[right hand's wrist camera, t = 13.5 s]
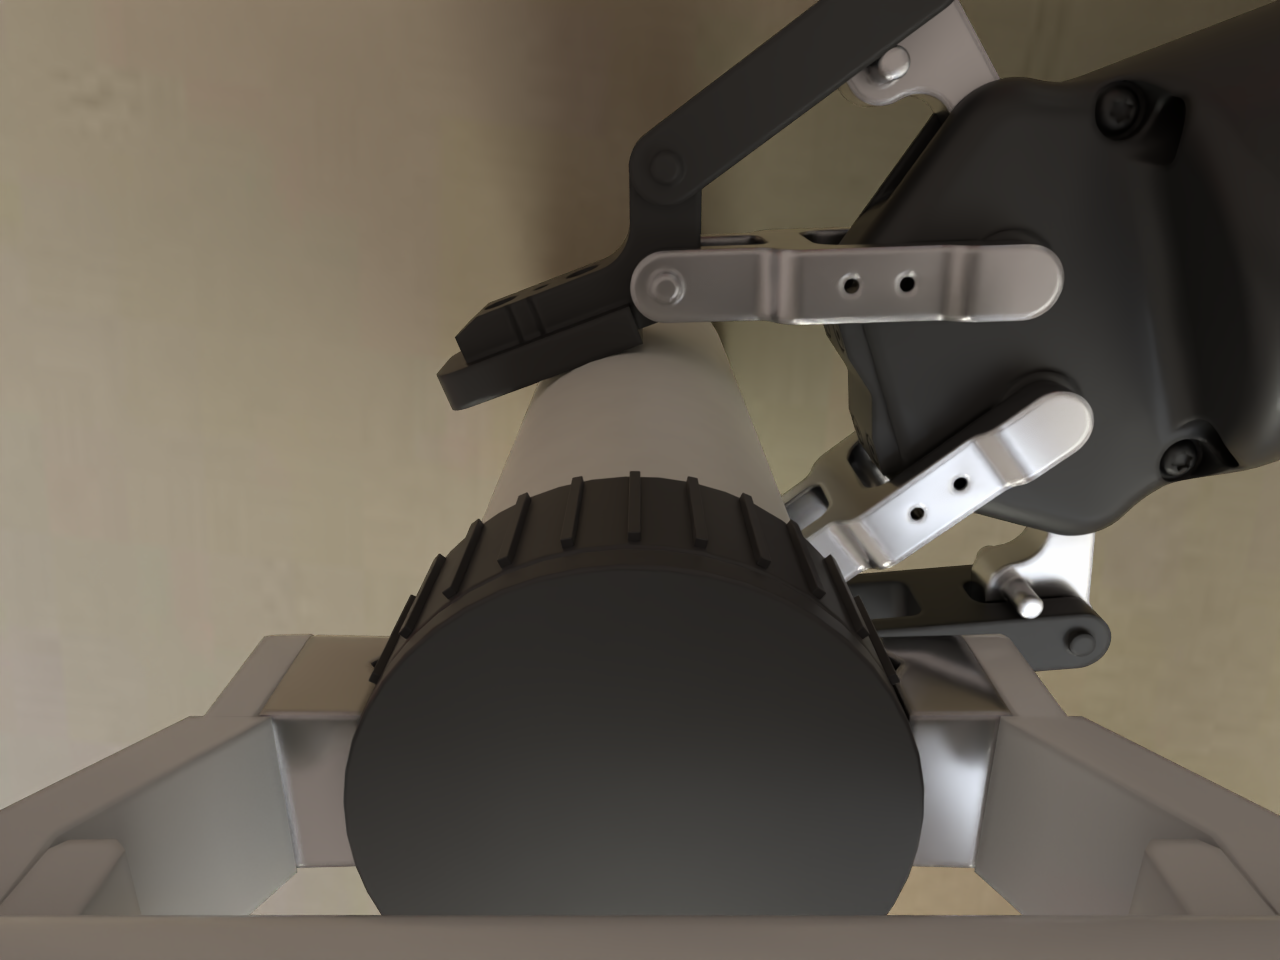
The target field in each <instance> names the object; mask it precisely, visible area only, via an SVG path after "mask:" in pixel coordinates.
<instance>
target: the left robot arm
mask: <svg viewBox="0 0 1280 960" xmlns="http://www.w3.org/2000/svg"><path fill="white" fill-rule="evenodd" d="M836 89H839V91H840V92H841V94H842V95H843V97H844V98H845V99H846V100H848V101H849V102H851V103H852V104H854V105H857V106H861V107H875V106H883V105H889V104H892V103H894V102H896V101H898V100H900V99H902V98H904V97H906V96H912V97H916V98H918V99H921V100H922V101H924V102H925V103H926V104H927V105H928V106H929V107H930V108H931V109H932V111H933V112H934V113H933V114H932V116H931V117H930V119H929V120H928V121H927V123H926V124H925V126H924V127H923V128H922V130H921V131H920V132H919V134H918V135H917V137H916V138H915V139H914V141H913V142H912V144H911V145H910V146H909V148H908V149H907V150H906V152H905V153H904V155H903V156H902V157H901V159H900V160H899V161H898V163H897V164H896V166H895V167H894V168H893V170H892V171H891V173H890V174H889V175H888V177H887V178H886V179H885V181H884V182H883V184H882V185H881V186H880V188H879V189H878V191H877V192H876V193H875V195H874V196H873V197H872V199H871V200H870V202H869V203H868V204H867V206H866V207H865V208H864V210H863V211H862V213H861V214H860V215H859V217H858V218H857V220H856V221H855V222H854V224H853V225H852V226H851V227H823V228H793V229H768V230H759V231H754V232H748V233H726V234H701V190H702V188H704V187H705V186H707V185H708V184H709V183H711V182H712V181H713V180H715V179H716V178H717V177H719V176H720V175H721V174H723V173H724V172H725V171H727V170H728V169H730V168H731V167H732V166H734V165H735V164H736V163H738V162H739V161H740V160H742V159H743V158H744V157H746V156H747V155H748V154H750V153H751V152H752V151H754V150H755V149H757V148H758V147H759V146H761V145H762V144H763V143H765V142H766V141H767V140H769V139H770V138H771V137H773V136H774V135H775V134H777V133H778V132H780V131H781V130H782V129H784V128H785V127H786V126H788V125H789V124H790V123H792V122H793V121H794V120H796V119H797V118H798V117H800V116H801V115H803V114H804V113H805V112H807V111H808V110H809V109H811V108H812V107H813V106H815V105H816V104H817V103H819V102H820V101H821V100H823V99H824V98H826V97H827V96H828V95H830V94H831V93H832V92H834V91H835V90H836ZM629 185H630V228H629V232H628V235H627V237H626V239H625V241H624V243H623V244H622V245H621V247H620V248H619V249H618V250H617V251H616V252H615V253H613V254H612V255H610V256H609V257H607V258H605V259H603V260H600V261H597V262H595V263H592V264H590V265H587V266H584V267H582V268H579V269H577V270H574V271H571V272H569V273H566V274H563V275H561V276H558V277H556V278H553V279H550V280H548V281H545V282H543V283H540V284H538V285H535V286H532V287H529V288H527V289H524V290H522V291H519V292H517V293H514V294H511V295H508V296H506V297H503V298H501V299H498V300H495V301H493V302H490V303H488V304H487V305H486V306H485V307H484V308H483V309H482V310H481V311H480V312H479V313H478V314H477V315H476V316H475V317H474V318H473V319H472V320H471V321H470V322H469V323H468V324H467V325H466V326H465V327H464V328H463V329H462V330H461V331H460V332H459V334H458V335H457V336H456V337H455V339H456V341H457V343H458V345H459V347H460V350H461V351H460V352H459V353H457V354H455V355H454V356H452V357H451V358H450V359H449V360H448V361H447V363H446V364H445V365H444V366H443V367H442V368H441V370H440V371H439V372H438V373H437V377H438V379H439V381H440V383H441V386H442V388H443V390H444V392H445V394H446V396H447V399H448V401H449V403H450V405H451V407H452V409H453V410H462V409H466V408H469V407H472V406H475V405H478V404H480V403H483V402H486V401H488V400H491V399H494V398H497V397H499V396H502V395H505V394H508V393H510V392H513V391H516V390H518V389H521V388H524V387H527V386H529V385H532V384H535V383H537V382H540V381H543V380H546V379H548V378H551V377H554V376H557V375H559V374H562V373H565V372H567V371H570V370H573V369H576V368H578V367H581V366H583V365H585V364H588V363H590V362H593V361H596V360H599V359H603V358H606V357H608V356H611V355H614V354H616V353H619V352H622V351H625V350H627V349H630V348H633V347H635V346H638V345H641V344H643V328H644V327H647V326H650V325H652V324H655V323H658V322H659V323H687V322H717V321H748V320H764V321H771V322H775V323H780V324H791V325H807V324H823V325H824V328H825V331H826V335H827V336H828V338H829V340H830V341H831V343H832V344H833V346H834V347H835V349H836V350H837V352H838V354H839V355H840V357H841V358H842V360H843V361H844V363H845V364H846V366H847V369H848V391H849V410H850V414H851V417H852V420H853V424H854V427H855V430H856V431H855V432H853V433H852V434H851V435H849V436H848V437H846V438H845V439H844V440H842V441H841V442H840V443H838V444H837V445H835V446H834V447H833V448H831V449H830V450H829V451H827V452H826V453H825V454H823V455H822V456H821V457H820V458H819V459H818V460H817V461H816V462H815V463H814V465H813V467H812V469H811V471H810V473H809V474H808V476H807V477H806V478H805V479H804V480H802V481H801V482H800V483H798V484H797V485H796V486H794V487H793V488H791V489H790V490H789V491H787V492H786V493H784V494H783V495H782V496H781V498H782V500H783V503H784V505H785V508H786V510H787V513H788V516H789V518H790V520H791V519H792V520H793V521H795V522H796V523H797V524H798V525H799V527H800V529H801V532H802V534H803V537H804V538H805V539H807V540H808V541H809V542H810V543H811V544H812V545H813V546H814V547H815V548H816V550H817V551H818V552H819V553H820V554H821V555H822V556H823V557H824V558H826V557H827V556H828V555H830V554H831V555H832V556H833V557H834V559H835V560H836V561H837V563H838V566H839V568H840V570H841V572H842V574H843V577H844V579H845V581H846V583H847V585H848V587H849V590H850V592H851V594H852V596H853V597H856V596H858V595H859V596H860V598H861V600H862V602H863V604H864V606H865V608H866V610H867V612H868V614H869V617H870V619H871V621H872V623H873V625H874V627H875V629H876V631H877V633H878V635H879V637H900V636H941V635H981V634H1002V635H1004V636H1007V637H1009V638H1010V640H1011V641H1012V642H1013V644H1014V645H1015V646H1016V648H1017V649H1018V650H1019V652H1020V653H1021V654H1022V656H1023V657H1024V658H1025V660H1026V661H1027V662H1028V664H1029V665H1030V666H1031V668H1032V669H1033V671H1047V670H1060V669H1073V668H1082V667H1085V666H1088V665H1091V664H1093V663H1094V662H1096V661H1098V660H1099V659H1100V658H1101V657H1102V656H1103V655H1104V654H1105V653H1106V651H1107V650H1108V648H1109V645H1110V642H1111V632H1110V629H1109V627H1108V625H1107V624H1106V623H1105V621H1104V620H1103V619H1102V618H1101V617H1100V616H1099V615H1098V614H1097V613H1096V612H1095V611H1094V610H1093V608H1092V606H1091V605H1090V602H1089V595H1090V585H1091V574H1092V563H1093V552H1094V541H1095V532H1097V531H1100V530H1102V529H1104V528H1106V527H1108V526H1110V525H1112V524H1113V523H1115V522H1116V521H1118V520H1119V519H1120V518H1121V517H1122V516H1123V515H1125V514H1126V513H1127V512H1128V511H1129V510H1130V509H1131V508H1132V507H1133V506H1134V505H1136V504H1137V503H1138V502H1139V501H1141V500H1142V499H1143V498H1145V497H1146V496H1148V495H1149V494H1151V493H1152V492H1154V491H1156V490H1158V489H1159V488H1161V487H1163V486H1165V485H1167V484H1170V483H1173V482H1177V481H1181V480H1187V479H1192V478H1199V477H1205V476H1212V475H1219V474H1226V473H1233V472H1239V471H1244V470H1248V469H1252V468H1256V467H1260V466H1263V465H1266V464H1269V463H1272V462H1275V461H1278V460H1280V0H1278V1H1276V2H1273V3H1270V4H1268V5H1265V6H1263V7H1260V8H1257V9H1255V10H1252V11H1250V12H1247V13H1244V14H1242V15H1239V16H1236V17H1234V18H1231V19H1229V20H1226V21H1223V22H1221V23H1218V24H1216V25H1213V26H1210V27H1208V28H1205V29H1203V30H1200V31H1197V32H1195V33H1192V34H1190V35H1187V36H1184V37H1182V38H1179V39H1176V40H1174V41H1171V42H1169V43H1166V44H1163V45H1161V46H1158V47H1156V48H1153V49H1150V50H1148V51H1145V52H1143V53H1140V54H1137V55H1135V56H1132V57H1130V58H1127V59H1124V60H1122V61H1119V62H1117V63H1114V64H1111V65H1109V66H1106V67H1103V68H1101V69H1098V70H1096V71H1093V72H1090V73H1088V74H1085V75H1083V76H1080V77H1077V78H1074V79H1070V80H1067V81H1063V82H1047V81H1041V80H1036V79H1031V78H1025V77H1010V78H1003V79H1000V78H999V76H998V74H997V72H996V70H995V68H994V66H993V64H992V62H991V61H990V59H989V57H988V55H987V53H986V51H985V49H984V47H983V45H982V44H981V42H980V40H979V38H978V36H977V34H976V32H975V30H974V28H973V27H972V25H971V23H970V21H969V19H968V17H967V15H966V13H965V11H964V10H963V8H962V6H961V4H960V2H959V0H819V1H818V2H817V3H815V4H814V5H813V6H812V7H810V8H809V9H808V10H806V11H805V12H804V13H802V14H801V15H800V16H798V17H797V18H796V19H795V20H793V21H792V22H791V23H789V24H788V25H787V26H785V27H784V28H783V29H781V30H780V31H779V32H778V33H776V34H775V35H774V36H772V37H771V38H770V39H768V40H767V41H766V42H765V43H763V44H762V45H761V46H759V47H758V48H757V49H755V50H754V51H753V52H751V53H750V54H749V55H748V56H746V57H745V58H744V59H742V60H741V61H740V62H738V63H737V64H736V65H735V66H733V67H732V68H731V69H729V70H728V71H727V72H725V73H724V74H723V75H721V76H720V77H719V78H718V79H716V80H715V81H714V82H712V83H711V84H710V85H708V86H707V87H706V88H705V89H703V90H702V91H701V92H699V93H698V94H697V95H695V96H694V97H693V98H691V99H690V100H689V101H688V102H686V103H685V104H684V105H682V106H681V107H680V108H678V109H677V110H676V111H675V112H673V113H672V114H671V115H669V116H668V117H667V118H665V119H664V120H663V121H661V122H660V123H659V124H658V125H656V126H655V127H654V128H652V129H651V130H650V131H648V132H647V133H646V134H645V135H643V136H642V137H641V138H640V139H639V140H638V142H637V143H636V145H635V146H634V148H633V151H632V153H631V156H630V161H629ZM971 513H977V514H981V515H985V516H988V517H992V518H996V519H1000V520H1004V521H1007V522H1011V523H1015V524H1019V525H1023V526H1026V528H1025V530H1024V531H1023V532H1022V533H1021V534H1020V535H1019V536H1018V537H1017V538H1015V539H1014V540H1012V541H1010V542H1008V543H1005V544H1001V545H996V546H985V547H983V548H981V549H980V550H979V551H978V553H977V556H976V560H975V562H974V563H973V565H962V566H950V567H938V568H926V569H914V570H902V571H889V572H877V573H865V574H859V573H860V572H862V571H864V570H866V569H871V568H872V569H879V570H881V569H886V568H889V567H892V566H894V565H896V564H897V563H899V562H901V561H902V560H904V559H905V558H907V557H908V556H909V555H911V554H912V553H914V552H915V551H917V550H918V549H920V548H921V547H923V546H924V545H926V544H927V543H929V542H930V541H932V540H933V539H935V538H936V537H938V536H939V535H940V534H942V533H943V532H945V531H946V530H948V529H949V528H951V527H952V526H954V525H955V524H957V523H958V522H960V521H961V520H963V519H964V518H966V517H967V516H969V515H970V514H971Z"/></svg>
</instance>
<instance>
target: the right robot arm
mask: <svg viewBox="0 0 1280 960" xmlns="http://www.w3.org/2000/svg"><path fill="white" fill-rule="evenodd" d="M389 637H390V636H355V635H315V636H314V635H313V634H286V635H270V636H265V637H264V638H263V639H262V640H261V641H260V642H259V644H258V645H257V646H256V648H255V649H254V650H253V652H252V653H251V654H250V656H249V657H248V658H247V660H246V661H245V662H244V663H243V665H242V666H241V667H240V669H239V670H238V671H237V673H236V674H235V675H234V677H233V678H232V679H231V681H230V682H229V683H228V685H227V686H226V687H225V689H224V690H223V691H222V693H221V694H220V695H219V697H218V698H217V699H216V701H215V702H214V703H213V704H212V706H211V707H210V708H209V710H208V711H207V712H206V714H205V715H204V716H189V717H187V718H185V719H183V720H181V721H179V722H177V723H175V724H173V725H171V726H169V727H167V728H165V729H163V730H161V731H159V732H157V733H155V734H153V735H151V736H149V737H147V738H145V739H143V740H141V741H139V742H137V743H135V744H133V745H131V746H129V747H127V748H125V749H123V750H121V751H119V752H117V753H115V754H113V755H111V756H108V757H106V758H104V759H102V760H100V761H98V762H96V763H94V764H92V765H90V766H88V767H86V768H84V769H82V770H80V771H78V772H76V773H74V774H72V775H70V776H68V777H66V778H64V779H62V780H60V781H58V782H56V783H54V784H52V785H50V786H48V787H46V788H44V789H42V790H40V791H38V792H36V793H34V794H32V795H30V796H28V797H26V798H24V799H22V800H20V801H18V802H16V803H14V804H12V805H10V806H8V807H6V808H4V809H2V810H0V960H1280V816H1279V815H1277V814H1275V813H1273V812H1271V811H1269V810H1267V809H1265V808H1263V807H1261V806H1259V805H1257V804H1255V803H1253V802H1251V801H1249V800H1247V799H1245V798H1243V797H1241V796H1239V795H1237V794H1235V793H1233V792H1231V791H1229V790H1227V789H1225V788H1223V787H1221V786H1219V785H1217V784H1216V783H1214V782H1212V781H1210V780H1208V779H1206V778H1204V777H1202V776H1200V775H1198V774H1196V773H1194V772H1192V771H1190V770H1188V769H1186V768H1184V767H1182V766H1180V765H1178V764H1176V763H1174V762H1172V761H1170V760H1168V759H1166V758H1164V757H1162V756H1160V755H1158V754H1156V753H1154V752H1152V751H1150V750H1148V749H1146V748H1144V747H1142V746H1140V745H1138V744H1136V743H1134V742H1132V741H1130V740H1128V739H1126V738H1124V737H1122V736H1120V735H1118V734H1116V733H1114V732H1112V731H1110V730H1108V729H1106V728H1104V727H1102V726H1100V725H1098V724H1096V723H1094V722H1092V721H1090V720H1088V719H1086V718H1084V717H1082V716H1067V715H1066V713H1065V712H1064V711H1063V709H1062V708H1061V707H1060V705H1059V704H1058V703H1057V701H1056V700H1055V699H1054V697H1053V696H1052V695H1051V693H1050V692H1049V691H1048V689H1047V688H1046V687H1045V685H1044V684H1043V683H1042V681H1041V680H1040V679H1039V677H1038V676H1037V675H1036V673H1035V672H1034V671H1033V669H1032V668H1031V666H1030V665H1029V664H1028V662H1027V661H1026V660H1025V658H1024V657H1023V656H1022V654H1021V653H1020V652H1019V650H1018V649H1017V648H1016V646H1015V645H1014V644H1013V642H1012V641H1011V640H1010V638H1009V637H1007V636H1004V635H1002V634H981V635H941V636H900V637H879V638H880V640H881V642H882V644H883V646H884V648H885V650H886V652H887V654H888V657H889V659H890V661H891V663H892V665H893V667H894V669H895V671H896V673H897V675H898V678H899V680H900V682H899V683H896V684H894V685H892V686H893V688H894V690H895V693H896V695H897V697H898V700H899V702H900V704H901V706H902V708H903V710H904V712H905V714H906V717H907V719H908V721H909V723H910V726H911V729H912V732H913V735H914V738H915V742H916V745H917V748H918V751H919V754H920V760H921V767H922V773H923V780H924V818H923V824H922V830H921V835H920V841H919V847H918V850H917V853H916V856H915V859H914V862H913V865H912V866H925V867H961V868H975V871H974V872H976V873H977V874H978V875H979V876H980V877H981V878H982V879H983V880H984V881H986V882H987V883H988V884H989V885H990V886H991V887H992V888H993V889H994V890H996V891H997V892H998V893H999V894H1000V895H1001V896H1002V897H1003V898H1004V899H1005V900H1007V901H1008V902H1009V903H1010V904H1011V905H1012V906H1013V907H1014V908H1015V909H1017V910H1018V911H1019V912H1020V913H1021V914H1022V915H250V914H251V913H252V912H253V911H254V910H255V909H256V908H258V907H259V906H260V905H261V904H262V903H263V902H264V901H265V900H267V899H268V898H269V897H270V896H271V895H272V894H273V893H274V892H276V891H277V890H278V889H279V888H280V887H281V886H282V885H283V884H284V883H286V882H287V881H288V880H289V879H290V878H291V877H292V876H293V875H295V874H296V873H297V868H310V867H345V866H355V863H354V859H353V856H352V852H351V848H350V844H349V841H348V837H347V833H346V823H345V814H344V804H343V796H344V780H345V768H346V764H347V760H348V755H349V751H350V746H351V742H352V738H353V736H354V733H355V731H356V729H357V726H358V724H359V721H360V719H361V716H362V714H363V711H364V709H365V707H366V705H367V703H368V701H369V698H370V696H371V694H372V692H373V690H374V689H375V686H376V684H374V683H371V682H369V681H368V680H369V678H370V676H371V674H372V672H373V670H374V668H375V666H376V664H377V662H378V660H379V658H380V656H381V653H382V651H383V649H384V647H385V645H386V643H387V641H388V639H389Z"/></svg>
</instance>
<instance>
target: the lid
mask: <svg viewBox="0 0 1280 960" xmlns="http://www.w3.org/2000/svg"><path fill="white" fill-rule="evenodd" d="M368 681H369V682H371V683H374V684H376V686H375V689H374V690H373V692H372V694H371V696H370V698H369V701H368V703H367V705H366V707H365V709H364V711H363V714H362V716H361V719H360V721H359V724H358V726H357V729H356V731H355V733H354V736H353V738H352V742H351V746H350V751H349V755H348V760H347V764H346V768H345V780H344V796H343V804H344V814H345V823H346V833H347V837H348V841H349V844H350V848H351V852H352V856H353V859H354V863H355V866H356V868H357V870H358V872H359V875H360V877H361V879H362V881H363V884H364V886H365V888H366V890H367V892H368V894H369V896H370V897H371V899H372V900H373V902H374V904H375V905H376V907H377V908H378V910H379V912H380V913H381V915H887V914H888V912H889V911H890V909H891V908H892V907H893V905H894V904H895V902H896V900H897V898H898V896H899V894H900V892H901V890H902V888H903V886H904V884H905V883H906V881H907V879H908V877H909V874H910V871H911V868H912V865H913V862H914V859H915V856H916V853H917V850H918V847H919V841H920V835H921V830H922V824H923V818H924V780H923V773H922V767H921V760H920V754H919V751H918V748H917V745H916V742H915V738H914V735H913V732H912V729H911V726H910V723H909V721H908V719H907V717H906V714H905V712H904V710H903V708H902V706H901V704H900V702H899V700H898V697H897V695H896V693H895V690H894V688H893V686H892V685H894V684H896V683H899V682H900V680H899V678H898V675H897V673H896V671H895V669H894V667H893V665H892V663H891V661H890V659H889V657H888V654H887V652H886V650H885V648H884V646H883V644H882V642H881V640H880V638H879V635H878V633H877V631H876V629H875V627H874V625H873V623H872V621H871V619H870V617H869V614H868V612H867V610H866V608H865V606H864V604H863V602H862V600H861V598H860V596H859V595H858V596H856V597H853V596H852V594H851V592H850V590H849V587H848V585H847V583H846V581H845V579H844V577H843V574H842V572H841V570H840V568H839V566H838V563H837V561H836V560H835V559H834V557H833V556H832V555H831V554H830V555H828V556H827V557H826V558H824V557H823V556H822V555H821V554H820V553H819V552H818V551H817V550H816V548H815V547H814V546H813V545H812V544H811V543H810V542H809V541H808V540H807V539H805V538H804V537H803V534H802V532H801V529H800V527H799V525H798V524H797V523H796V522H795V521H793V520H792V519H791V520H790V521H789V522H788V523H787V524H786V523H785V522H784V521H782V520H781V519H779V518H777V517H776V516H774V515H772V514H771V513H769V512H767V511H766V510H764V509H762V508H760V507H759V506H757V505H755V504H754V503H753V499H752V496H750V495H748V494H745V493H742V494H741V496H740V498H739V497H737V496H734V495H732V494H730V493H727V492H725V491H721V490H718V489H714V488H711V487H707V486H703V485H700V484H699V482H698V478H695V477H690V476H688V477H687V481H680V480H673V479H667V478H660V477H640V471H630V477H627V476H625V477H615V478H604V479H593V480H588V481H584V480H583V477H582V476H579V477H574V478H572V482H571V484H570V485H565V486H561V487H557V488H555V489H552V490H549V491H546V492H543V493H541V494H538V495H535V496H532V497H530V496H529V494H528V493H527V492H526V493H524V494H522V495H519V496H518V499H517V502H516V504H515V505H513V506H511V507H509V508H507V509H505V510H503V511H501V512H500V513H498V514H497V515H495V516H494V517H492V518H491V519H489V520H488V521H486V522H485V523H484V524H483V523H482V521H481V520H480V519H478V520H476V521H475V522H473V523H472V524H471V526H470V529H469V531H468V533H467V536H466V538H465V539H464V540H462V541H461V542H460V543H459V544H458V545H457V546H456V547H455V548H454V549H453V550H452V551H451V552H450V553H449V554H448V555H447V556H446V558H445V557H444V556H442V555H441V554H438V556H437V557H436V558H435V559H434V561H433V563H432V565H431V567H430V569H429V571H428V573H427V575H426V577H425V579H424V581H423V584H422V586H421V588H420V590H419V592H418V594H417V596H414V595H410V597H409V599H408V601H407V603H406V605H405V607H404V609H403V611H402V613H401V615H400V617H399V619H398V621H397V623H396V625H395V627H394V629H393V631H392V633H391V635H390V637H389V639H388V641H387V643H386V645H385V647H384V649H383V651H382V653H381V656H380V658H379V660H378V662H377V664H376V666H375V668H374V670H373V672H372V674H371V676H370V678H369V680H368Z"/></svg>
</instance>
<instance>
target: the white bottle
mask: <svg viewBox="0 0 1280 960" xmlns="http://www.w3.org/2000/svg"><path fill="white" fill-rule="evenodd" d="M630 471H640V477H660V478H667V479H673V480H680V481H687V477H688V476H690V477H695V478H698V482H699V484H700V485H703V486H707V487H711V488H714V489H718V490H721V491H725V492H727V493H730V494H732V495H734V496H737V497H739V498H740V496H741V494H742V493H745V494H748V495H750V496H752V499H753V503H754V504H755V505H757V506H759V507H760V508H762V509H764V510H766V511H767V512H769V513H771V514H772V515H774V516H776V517H777V518H779V519H781V520H782V521H784V522H785V523H786V524H787V523H788V522H789V521H790V518H789V516H788V513H787V510H786V508H785V505H784V503H783V500H782V498H781V495H780V492H779V490H778V487H777V485H776V482H775V479H774V477H773V474H772V472H771V469H770V466H769V464H768V461H767V459H766V456H765V453H764V451H763V448H762V446H761V443H760V441H759V438H758V435H757V433H756V430H755V428H754V425H753V422H752V420H751V417H750V415H749V412H748V409H747V407H746V404H745V402H744V399H743V396H742V394H741V391H740V389H739V386H738V384H737V381H736V378H735V376H734V373H733V371H732V368H731V365H730V363H729V360H728V358H727V355H726V352H725V350H724V347H723V345H722V342H721V340H720V338H719V335H718V333H717V331H716V330H715V328H714V326H713V325H712V323H711V322H687V323H659V322H658V323H655V324H652V325H650V326H647V327H644V328H643V344H641V345H638V346H635V347H633V348H630V349H627V350H625V351H622V352H619V353H616V354H614V355H611V356H608V357H606V358H603V359H599V360H596V361H593V362H590V363H588V364H585V365H583V366H581V367H578V368H576V369H573V370H570V371H567V372H565V373H562V374H559V375H557V376H554V377H551V378H548V379H546V380H543V381H540V382H539V383H538V385H537V388H536V390H535V393H534V395H533V397H532V400H531V402H530V405H529V407H528V410H527V412H526V415H525V417H524V419H523V422H522V424H521V427H520V429H519V432H518V434H517V437H516V439H515V441H514V444H513V446H512V449H511V451H510V454H509V456H508V459H507V461H506V463H505V466H504V468H503V471H502V473H501V476H500V478H499V481H498V483H497V485H496V488H495V490H494V493H493V495H492V498H491V500H490V503H489V505H488V507H487V510H486V512H485V515H484V517H483V520H482V523H483V524H484V523H485V522H486V521H488V520H489V519H491V518H492V517H494V516H495V515H497V514H498V513H500V512H501V511H503V510H505V509H507V508H509V507H511V506H513V505H515V504H516V502H517V499H518V496H519V495H522V494H524V493H526V492H527V493H528V494H529V496H530V497H532V496H535V495H538V494H541V493H543V492H546V491H549V490H552V489H555V488H557V487H561V486H565V485H570V484H571V482H572V478H574V477H579V476H582V477H583V480H584V481H588V480H593V479H604V478H615V477H625V476H627V477H630Z"/></svg>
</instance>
